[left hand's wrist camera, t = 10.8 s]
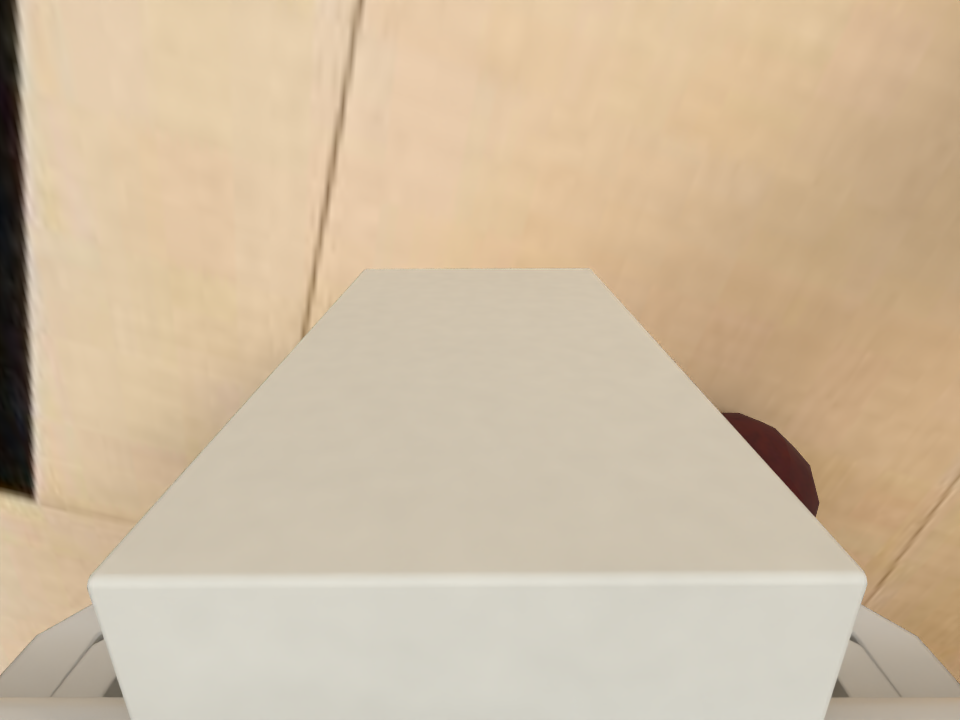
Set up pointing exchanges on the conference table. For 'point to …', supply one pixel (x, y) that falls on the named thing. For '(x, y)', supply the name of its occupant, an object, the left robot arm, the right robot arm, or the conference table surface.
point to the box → (477, 530)
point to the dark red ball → (778, 457)
